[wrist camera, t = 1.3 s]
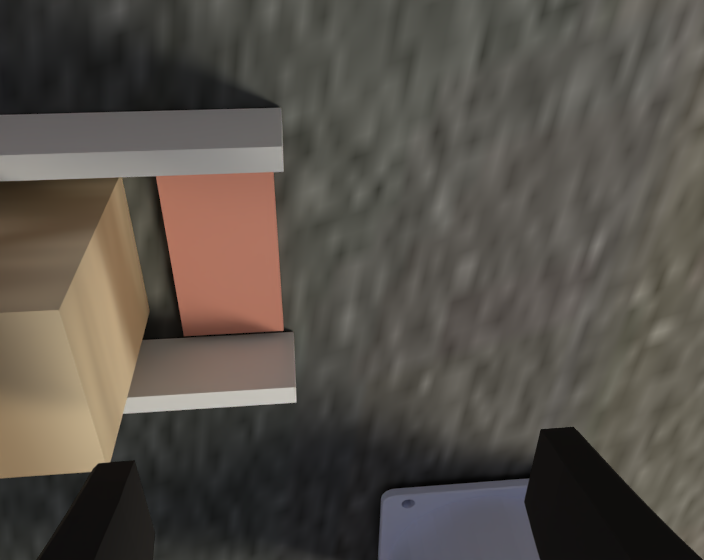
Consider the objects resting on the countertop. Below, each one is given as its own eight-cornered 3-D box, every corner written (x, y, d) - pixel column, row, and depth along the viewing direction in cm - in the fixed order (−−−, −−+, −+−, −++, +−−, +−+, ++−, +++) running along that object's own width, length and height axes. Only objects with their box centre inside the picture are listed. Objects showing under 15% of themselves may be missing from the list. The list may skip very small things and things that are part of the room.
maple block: (121, 172, 17) (58, 309, 12) (149, 310, 20) (108, 470, 15) (-60, 178, 17) (-200, 323, 12) (-7, 318, 19) (-104, 486, 14)
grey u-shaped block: (281, 107, 16) (282, 146, 14) (294, 346, 21) (296, 402, 19) (-276, 121, 15) (-361, 166, 13) (-138, 370, 20) (-186, 433, 18)
